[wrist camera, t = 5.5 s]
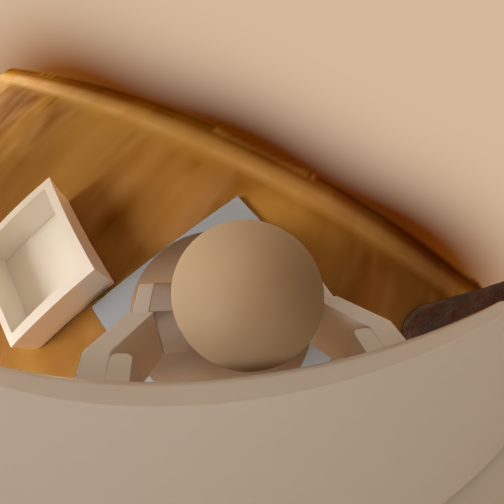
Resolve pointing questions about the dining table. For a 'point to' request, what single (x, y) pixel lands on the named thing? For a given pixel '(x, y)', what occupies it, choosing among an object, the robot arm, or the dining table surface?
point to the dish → (45, 268)
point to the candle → (450, 310)
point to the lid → (238, 301)
